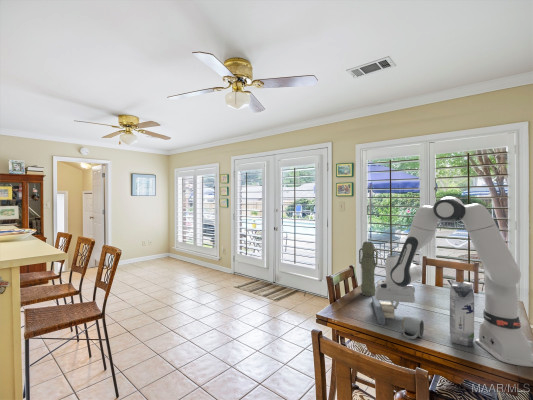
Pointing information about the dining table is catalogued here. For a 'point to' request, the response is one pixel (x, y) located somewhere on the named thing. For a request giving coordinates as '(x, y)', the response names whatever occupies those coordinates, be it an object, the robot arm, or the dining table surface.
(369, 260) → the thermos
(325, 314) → the dining table surface
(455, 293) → the juice carton
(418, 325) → the ceramic mug
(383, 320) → the grey rectangular bar
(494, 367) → the dining table surface
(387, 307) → the birch block
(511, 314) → the robot arm
